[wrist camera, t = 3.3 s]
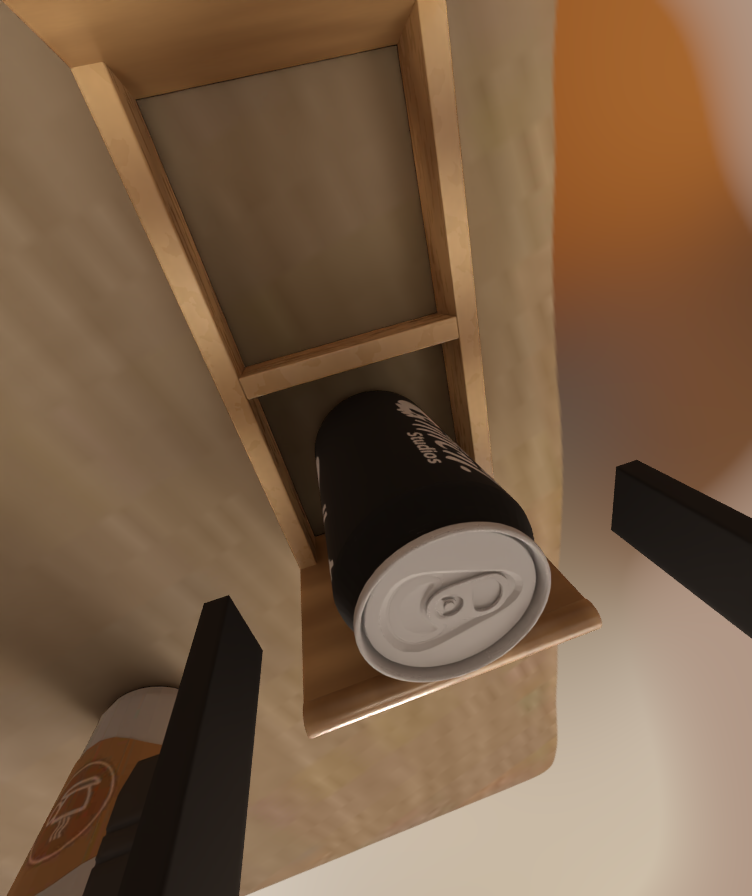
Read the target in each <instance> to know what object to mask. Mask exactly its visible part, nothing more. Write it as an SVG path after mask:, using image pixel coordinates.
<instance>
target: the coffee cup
mask: <svg viewBox="0 0 752 896" xmlns="http://www.w3.org/2000/svg"><path fill="white" fill-rule="evenodd" d="M178 690H179V689H176V688H170V687H148V688H142V689H138V690H135V691H132V692H129V693H127V694H125V695H124V696H122V697H120V698H119V699H118V700H117V701H116V702H115V703H114V704H113V705H112V706H111V707H110V708H109V709H108V710H107V711H106V712H105V713H104V714H103V715H102V717H101V719H100V720H99V722H98V724H97V726H96V728H95V730H94V732H93V734H92V736H91V738H90V740H89V742H88V744H87V746H86V748H85V750H84V751H83V753H82V755H81V757H80V759H79V760H78V761H77V763H76V764H75V766H74V768H73V770H72V772H71V773H70V775H69V777H68V779H67V781H66V783H65V785H64V787H63V789H62V791H61V793H60V795H59V796H58V798H57V800H56V802H55V804H54V806H53V808H52V810H51V812H50V814H49V816H48V818H47V820H46V821H45V823H44V825H43V827H42V829H41V831H40V833H39V835H38V837H37V839H36V841H35V843H34V844H33V846H32V848H31V850H30V852H29V854H28V856H27V858H26V860H25V862H24V864H23V866H22V867H21V869H20V871H19V873H18V875H17V877H16V879H15V881H14V883H13V885H12V887H11V889H10V891H9V892H8V894H7V896H82V895H83V892H84V889H85V887H86V884H87V881H88V878H89V875H90V872H91V870H92V868H94V866H95V863H96V861H95V858H96V856H97V853H98V850H99V847H100V844H101V841H102V839H103V837H104V836H105V835H106V827H107V824H108V822H109V819H110V816H111V813H112V810H113V808H114V805H115V802H116V799H117V796H118V794H119V792H120V790H121V789H122V787H123V785H124V784H125V782H126V780H127V779H128V777H129V775H130V774H131V772H132V770H133V769H134V767H135V765H136V764H137V762H138V761H140V760H143V759H146V758H149V757H152V756H154V755H157V754H160V750H161V747H162V743H163V740H164V737H165V733H166V730H167V727H168V723H169V720H170V716H171V713H172V710H173V706H174V703H175V700H176V696H177V693H178Z"/></svg>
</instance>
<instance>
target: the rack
mask: <svg viewBox="0 0 752 896" xmlns="http://www.w3.org/2000/svg"><path fill="white" fill-rule="evenodd" d="M2 1H3V2H4V3H5V4H6V5H7V6H8V7H9V8H10V9H11V10H12V11H13V12H14V13H15V14H16V15H17V16H18V17H19V18H20V19H21V20H22V21H23V22H24V23H25V24H26V25H27V26H28V27H29V28H30V29H31V30H32V31H33V32H34V33H35V34H36V35H37V36H38V37H39V38H40V39H41V40H43V41H44V42H45V43H46V44H47V45H48V46H49V47H50V48H51V49H52V50H53V51H54V52H55V53H56V54H57V55H58V56H59V57H60V58H61V59H62V60H63V61H64V62H65V63H66V64H67V65H68V66H69V67H70V69H71V71H72V73H73V75H74V78H75V80H76V82H77V84H78V86H79V88H80V91H81V93H82V95H83V97H84V99H85V101H86V104H87V106H88V108H89V110H90V112H91V115H92V117H93V119H94V121H95V123H96V125H97V128H98V130H99V132H100V134H101V136H102V139H103V141H104V143H105V145H106V147H107V149H108V152H109V154H110V156H111V158H112V160H113V162H114V165H115V167H116V169H117V171H118V173H119V176H120V178H121V180H122V182H123V184H124V186H125V189H126V191H127V193H128V195H129V197H130V200H131V202H132V204H133V206H134V208H135V210H136V213H137V215H138V217H139V219H140V221H141V223H142V226H143V228H144V230H145V232H146V234H147V237H148V239H149V241H150V243H151V245H152V247H153V250H154V252H155V254H156V256H157V258H158V261H159V263H160V265H161V267H162V269H163V271H164V274H165V276H166V278H167V280H168V282H169V284H170V287H171V289H172V291H173V293H174V295H175V298H176V300H177V302H178V304H179V306H180V308H181V311H182V313H183V315H184V317H185V319H186V322H187V324H188V326H189V328H190V330H191V332H192V335H193V337H194V339H195V341H196V343H197V345H198V348H199V350H200V352H201V354H202V356H203V359H204V361H205V363H206V365H207V367H208V369H209V372H210V374H211V376H212V378H213V380H214V383H215V385H216V387H217V389H218V391H219V393H220V396H221V398H222V400H223V402H224V404H225V407H226V409H227V411H228V413H229V415H230V417H231V420H232V422H233V424H234V426H235V428H236V430H237V433H238V435H239V437H240V439H241V441H242V444H243V446H244V448H245V450H246V452H247V454H248V457H249V459H250V461H251V463H252V465H253V468H254V470H255V472H256V474H257V476H258V478H259V481H260V483H261V485H262V487H263V489H264V491H265V494H266V496H267V498H268V500H269V502H270V505H271V507H272V509H273V511H274V513H275V515H276V518H277V520H278V522H279V524H280V526H281V529H282V531H283V533H284V535H285V537H286V539H287V542H288V544H289V546H290V548H291V550H292V552H293V555H294V557H295V559H296V561H297V563H298V566H299V568H300V573H301V613H302V654H303V694H304V704H303V720H304V726H305V730H306V733H307V735H308V737H309V738H311V739H312V738H314V737H317V736H320V735H322V734H325V733H328V732H330V731H333V730H335V729H338V728H341V727H343V726H346V725H349V724H351V723H354V722H356V721H359V720H362V719H364V718H367V717H369V716H372V715H375V714H377V713H380V712H383V711H385V710H388V709H390V708H393V707H396V706H398V705H401V704H403V703H406V702H409V701H411V700H414V699H417V698H419V697H422V696H424V695H427V694H430V693H432V692H435V691H438V690H440V689H443V688H445V687H448V686H451V685H453V684H456V683H458V682H461V681H464V680H466V679H469V678H472V677H474V676H477V675H479V674H482V673H485V672H487V671H490V670H492V669H495V668H498V667H500V666H503V665H506V664H508V663H511V662H513V661H516V660H519V659H521V658H524V657H527V656H529V655H532V654H534V653H537V652H540V651H542V650H545V649H547V648H550V647H553V646H555V645H558V644H561V643H563V642H566V641H568V640H571V639H574V638H576V637H579V636H581V635H584V634H587V633H589V632H592V631H595V630H597V629H600V628H601V627H602V621H601V618H600V615H599V613H598V611H597V610H596V608H595V607H594V606H593V604H592V603H591V602H590V601H589V600H587V599H585V598H584V597H583V596H582V595H581V594H580V593H579V592H578V591H577V590H576V588H575V587H574V586H573V585H572V584H571V583H570V582H569V581H568V580H567V579H566V578H565V577H564V576H563V575H562V574H561V572H560V571H559V570H558V569H557V568H556V567H555V566H554V565H553V564H552V563H551V562H550V561H549V560H548V558H547V557H546V558H547V561H548V563H549V567H550V572H551V588H550V594H549V597H548V601H547V603H546V605H545V608H544V610H543V612H542V614H541V616H540V617H539V619H538V621H537V622H536V624H535V625H534V626H533V628H532V629H531V630H530V631H529V632H528V634H527V635H526V636H525V637H524V638H523V639H522V640H521V641H520V642H519V643H518V644H516V645H515V646H514V647H513V648H512V649H511V650H510V651H508V652H507V653H506V654H504V655H503V656H501V657H500V658H498V659H497V660H495V661H493V662H492V663H490V664H488V665H486V666H484V667H482V668H480V669H478V670H476V671H473V672H471V673H468V674H465V675H463V676H460V677H456V678H452V679H448V680H442V681H434V682H409V681H403V680H398V679H395V678H392V677H389V676H386V675H384V674H382V673H380V672H379V671H377V670H376V669H374V668H373V667H372V666H371V665H369V664H368V662H367V661H366V660H365V659H364V657H363V656H362V654H361V653H360V651H359V648H358V646H357V644H356V640H355V636H354V632H353V631H352V630H351V629H350V628H349V627H348V625H347V624H346V623H345V621H344V620H343V618H342V617H341V615H340V614H339V612H338V610H337V607H336V605H335V602H334V598H333V592H332V584H331V576H330V568H329V560H328V552H327V545H326V537H325V534H322V535H319V536H316V537H315V536H314V534H313V532H312V529H311V527H310V524H309V522H308V519H307V517H306V514H305V512H304V510H303V507H302V505H301V502H300V500H299V497H298V495H297V493H296V490H295V488H294V485H293V483H292V480H291V478H290V475H289V473H288V471H287V468H286V466H285V463H284V461H283V458H282V456H281V453H280V451H279V449H278V446H277V444H276V441H275V439H274V436H273V434H272V432H271V429H270V427H269V424H268V422H267V419H266V417H265V414H264V412H263V410H262V407H261V405H260V402H259V400H258V397H259V396H263V395H266V394H270V393H273V392H276V391H280V390H283V389H287V388H290V387H294V386H297V385H300V384H304V383H307V382H311V381H314V380H317V379H321V378H324V377H328V376H331V375H335V374H338V373H341V372H345V371H348V370H352V369H355V368H359V367H362V366H365V365H369V364H372V363H376V362H379V361H382V360H386V359H389V358H393V357H396V356H400V355H403V354H406V353H410V352H413V351H417V350H420V349H424V348H427V347H430V346H434V345H437V344H441V343H442V349H443V355H444V362H445V369H446V375H447V382H448V389H449V396H450V402H451V409H452V416H453V422H454V429H455V436H456V443H457V445H458V446H459V447H460V448H461V449H462V450H463V451H464V452H465V453H466V454H467V455H468V456H470V457H471V458H472V459H473V460H474V461H475V462H476V463H477V464H478V465H479V466H480V467H481V468H482V469H483V470H484V471H485V472H486V473H487V474H488V475H489V476H490V477H491V478H492V479H493V480H494V476H493V466H492V456H491V446H490V436H489V426H488V416H487V406H486V397H485V387H484V377H483V367H482V357H481V347H480V337H479V327H478V317H477V307H476V297H475V287H474V277H473V267H472V257H471V247H470V237H469V227H468V217H467V207H466V197H465V187H464V177H463V167H462V157H461V147H460V137H459V127H458V117H457V108H456V98H455V88H454V78H453V68H452V58H451V48H450V38H449V28H448V18H447V8H446V0H2ZM395 44H397V46H398V53H399V60H400V67H401V73H402V80H403V87H404V93H405V100H406V107H407V114H408V120H409V127H410V134H411V140H412V147H413V154H414V161H415V167H416V174H417V181H418V187H419V194H420V201H421V208H422V214H423V221H424V228H425V234H426V241H427V248H428V255H429V261H430V268H431V275H432V281H433V288H434V295H435V302H436V308H437V313H434V314H431V315H427V316H424V317H420V318H417V319H413V320H410V321H406V322H402V323H399V324H395V325H392V326H388V327H385V328H381V329H378V330H374V331H371V332H367V333H364V334H360V335H357V336H353V337H350V338H346V339H343V340H339V341H336V342H332V343H329V344H325V345H321V346H318V347H314V348H311V349H307V350H304V351H300V352H297V353H293V354H290V355H286V356H283V357H279V358H276V359H272V360H269V361H265V362H262V363H258V364H255V365H251V366H248V367H246V368H245V366H244V363H243V361H242V358H241V356H240V353H239V351H238V349H237V346H236V344H235V341H234V339H233V336H232V334H231V331H230V329H229V327H228V324H227V322H226V319H225V317H224V314H223V312H222V310H221V307H220V305H219V302H218V300H217V297H216V295H215V292H214V290H213V288H212V285H211V283H210V280H209V278H208V275H207V273H206V270H205V268H204V266H203V263H202V261H201V258H200V256H199V253H198V251H197V249H196V246H195V244H194V241H193V239H192V236H191V234H190V231H189V229H188V227H187V224H186V222H185V219H184V217H183V214H182V212H181V209H180V207H179V205H178V202H177V200H176V197H175V195H174V192H173V190H172V188H171V185H170V183H169V180H168V178H167V175H166V173H165V170H164V168H163V166H162V163H161V161H160V158H159V156H158V153H157V151H156V148H155V146H154V144H153V141H152V139H151V136H150V134H149V131H148V129H147V127H146V124H145V122H144V119H143V117H142V114H141V112H140V109H139V107H138V105H137V102H136V99H141V98H145V97H150V96H155V95H159V94H164V93H169V92H174V91H178V90H183V89H188V88H192V87H197V86H202V85H207V84H211V83H216V82H221V81H225V80H230V79H235V78H240V77H244V76H249V75H254V74H258V73H263V72H268V71H273V70H277V69H282V68H287V67H291V66H296V65H301V64H306V63H310V62H315V61H320V60H324V59H329V58H334V57H339V56H343V55H348V54H353V53H357V52H362V51H367V50H372V49H376V48H381V47H386V46H390V45H395Z"/></svg>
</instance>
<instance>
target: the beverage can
mask: <svg viewBox="0 0 752 896" xmlns="http://www.w3.org/2000/svg"><path fill="white" fill-rule="evenodd" d="M315 458H316V466H317V474H318V481H319V489H320V497H321V505H322V513H323V521H324V529H325V537H326V545H327V552H328V560H329V568H330V576H331V584H332V592H333V598H334V602H335V605H336V607H337V610H338V612H339V614H340V615H341V617H342V618H343V620H344V621H345V623H346V624H347V625H348V627H349V628H350V629H351V630H352V631H353V632H354V636H355V640H356V644H357V646H358V648H359V651H360V653H361V654H362V656H363V657H364V659H365V660H366V661H367V662H368V664H369V665H371V666H372V667H373V668H374V669H376V670H377V671H379V672H380V673H382V674H384V675H386V676H389V677H392V678H395V679H398V680H403V681H409V682H434V681H442V680H448V679H452V678H456V677H460V676H463V675H465V674H468V673H471V672H473V671H476V670H478V669H480V668H482V667H484V666H486V665H488V664H490V663H492V662H493V661H495V660H497V659H498V658H500V657H501V656H503V655H504V654H506V653H507V652H508V651H510V650H511V649H512V648H513V647H514V646H515V645H516V644H518V643H519V642H520V641H521V640H522V639H523V638H524V637H525V636H526V635H527V634H528V632H529V631H530V630H531V629H532V628H533V626H534V625H535V624H536V622H537V621H538V619H539V617H540V616H541V614H542V612H543V610H544V608H545V605H546V603H547V601H548V597H549V594H550V588H551V572H550V567H549V563H548V561H547V558H546V556H545V555H544V553H543V551H542V550H541V549H540V547H539V546H538V545H537V544H536V543H535V542H534V537H533V532H532V528H531V525H530V523H529V521H528V518H527V516H526V514H525V512H524V511H523V509H522V508H521V506H520V505H519V504H518V503H517V502H516V501H515V500H514V499H513V498H512V497H511V496H510V495H509V494H508V493H507V492H506V491H505V490H504V489H503V488H502V487H501V486H500V485H499V484H498V483H497V482H495V481H494V480H493V479H492V478H491V477H490V476H489V475H488V474H487V473H486V472H485V471H484V470H483V469H482V468H481V467H480V466H479V465H478V464H477V463H476V462H475V461H474V460H473V459H472V458H471V457H470V456H468V455H467V454H466V453H465V452H464V451H463V450H462V449H461V448H460V447H459V446H458V445H457V444H456V443H455V442H454V441H453V440H452V439H451V438H450V437H449V436H448V435H447V434H446V433H445V432H444V431H443V430H441V429H440V428H439V427H438V426H437V425H436V424H435V423H434V422H433V421H432V420H431V419H430V418H429V417H428V416H427V415H426V414H425V413H424V412H423V411H422V410H421V409H420V408H419V407H418V406H417V405H415V404H414V403H413V402H412V401H410V400H409V399H407V398H405V397H404V396H401V395H399V394H396V393H392V392H387V391H369V392H364V393H360V394H357V395H355V396H352V397H350V398H348V399H346V400H344V401H343V402H341V403H340V404H339V405H337V406H336V407H335V408H334V409H333V410H332V411H331V412H330V413H329V414H328V416H327V417H326V418H325V420H324V421H323V423H322V425H321V427H320V429H319V431H318V434H317V438H316V443H315Z"/></svg>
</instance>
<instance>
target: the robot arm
mask: <svg viewBox="0 0 752 896" xmlns="http://www.w3.org/2000/svg"><path fill="white" fill-rule="evenodd" d="M611 530H612V531H613V532H615V533H616V534H617V535H619V536H620V537H621V538H623V539H624V540H625V541H626V542H628V543H629V544H630V545H632V546H633V547H634V548H635V549H637V550H638V551H639V552H640V553H642V554H643V555H644V556H646V557H647V558H648V559H650V560H651V561H652V562H654V563H655V564H656V565H657V566H659V567H660V568H661V569H663V570H664V571H665V572H666V573H668V574H669V575H670V576H672V577H673V578H674V579H676V580H677V581H678V582H679V583H681V584H682V585H683V586H684V587H686V588H687V589H689V590H690V591H691V592H692V593H693V594H695V595H696V596H697V597H699V598H700V599H701V600H703V601H704V602H705V603H706V604H708V605H709V606H710V607H712V608H713V609H714V610H715V611H717V612H718V613H719V614H721V615H722V616H724V617H725V618H726V619H727V620H728V621H730V622H731V623H732V624H734V625H735V626H736V627H737V628H739V629H740V630H741V631H743V632H744V633H745V634H747V635H748V636H749V637H750V638H752V518H750V517H748V516H746V515H744V514H742V513H740V512H738V511H736V510H734V509H732V508H731V507H729V506H727V505H725V504H723V503H721V502H719V501H717V500H715V499H713V498H711V497H709V496H707V495H705V494H703V493H701V492H699V491H697V490H695V489H693V488H691V487H689V486H687V485H685V484H683V483H681V482H679V481H677V480H675V479H673V478H671V477H670V476H668V475H666V474H663V473H662V472H660V471H658V470H656V469H654V468H652V467H650V466H648V465H646V464H644V463H642V462H640V461H638V460H635V461H632V462H630V463H626V464H624V465H620V466H617V467H616V477H615V489H614V502H613V514H612V527H611ZM262 652H263V650H262V649H261V647H260V645H259V644H258V642H257V640H256V639H255V637H254V635H253V634H252V632H251V631H250V629H249V627H248V626H247V624H246V622H245V621H244V619H243V617H242V616H241V614H240V612H239V611H238V609H237V608H236V606H235V604H234V603H233V601H232V599H231V598H230V596H229V595H228V596H225V597H222V598H219V599H216V600H213V601H210V602H207V603H204V605H203V609H202V612H201V615H200V619H199V622H198V626H197V629H196V632H195V636H194V639H193V642H192V646H191V649H190V652H189V656H188V659H187V663H186V666H185V669H184V673H183V676H182V679H181V683H180V686H179V690H178V693H177V696H176V700H175V703H174V706H173V710H172V713H171V716H170V720H169V723H168V727H167V730H166V733H165V737H164V740H163V743H162V747H161V750H160V754H157V755H154V756H152V757H149V758H146V759H143V760H140V761H138V762H137V764H136V765H135V767H134V769H133V770H132V772H131V774H130V775H129V777H128V779H127V780H126V782H125V784H124V785H123V787H122V789H121V790H120V792H119V794H118V796H117V799H116V802H115V805H114V808H113V810H112V813H111V816H110V819H109V822H108V824H107V827H106V835H105V836H104V837H103V839H102V841H101V844H100V847H99V850H98V853H97V856H96V858H95V861H96V863H95V866H94V868H92V870H91V872H90V875H89V878H88V881H87V884H86V887H85V889H84V892H83V895H82V896H239V890H240V880H241V869H242V859H243V849H244V838H245V828H246V818H247V807H248V797H249V787H250V776H251V766H252V756H253V745H254V735H255V725H256V714H257V704H258V694H259V683H260V673H261V663H262Z"/></svg>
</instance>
